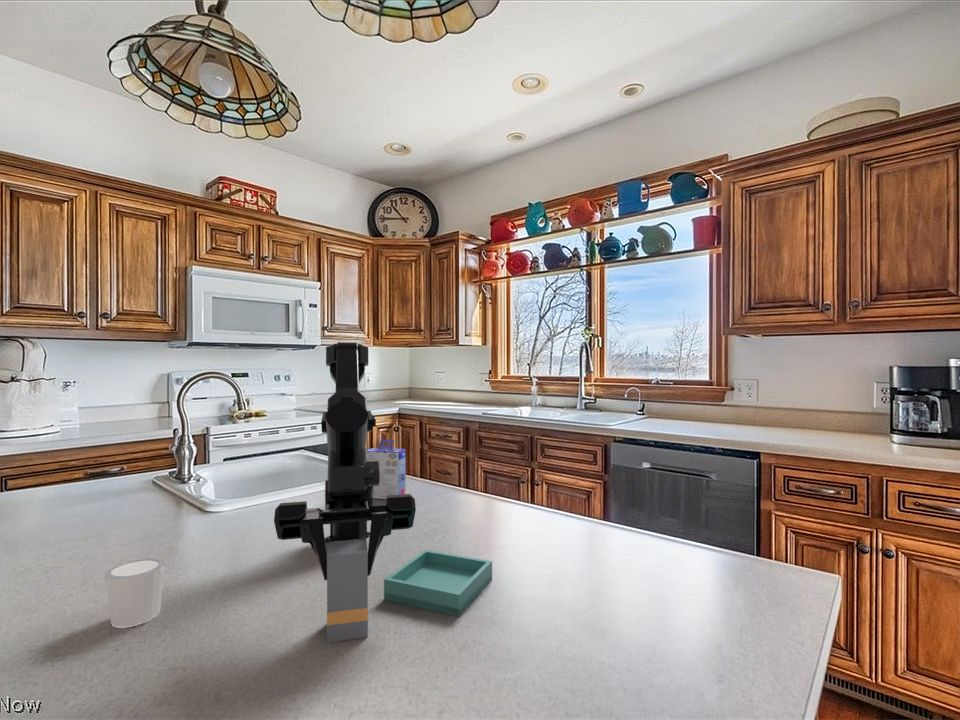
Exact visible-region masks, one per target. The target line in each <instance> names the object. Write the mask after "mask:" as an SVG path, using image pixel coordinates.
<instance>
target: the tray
mask: <svg viewBox="0 0 960 720" xmlns="http://www.w3.org/2000/svg"><path fill="white" fill-rule="evenodd" d="M492 581H493V561H492V560H488V559H481V558H475V557H470V556H464V555H458V554H452V553H446V552H440V551H435V550H431V549H424V550H423V551H421V552H420V553H419V554H416V556H414V557H413V558H411V559H410V560H408V561H407V562H406V563H404V564H403V565H401V567H398V568H397V570H395V571H393V572H392V573H390V574H389V575H388V576H386V577H385V578H384V579H383V599H384V600H386V601H389V602H394V603H399V604H402V605H403V604H404V605H406V606H407V605H408V606H412V607H416V608H420V609H426V610H429V611H433V612H439V613H443V614H448V615H450V616H456V617H460V616H461V615H462V614H463V613H464V612H465V610H466V609H468V607H469V606H470V605H471V604H472V603H473V602H474V601H475V599H476V598H477V597H478V596H479V595H480V594H481V593H482V592H483V591H484V589H486V587H487V586H488V585H489V584H490V583H491V582H492Z"/></svg>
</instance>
